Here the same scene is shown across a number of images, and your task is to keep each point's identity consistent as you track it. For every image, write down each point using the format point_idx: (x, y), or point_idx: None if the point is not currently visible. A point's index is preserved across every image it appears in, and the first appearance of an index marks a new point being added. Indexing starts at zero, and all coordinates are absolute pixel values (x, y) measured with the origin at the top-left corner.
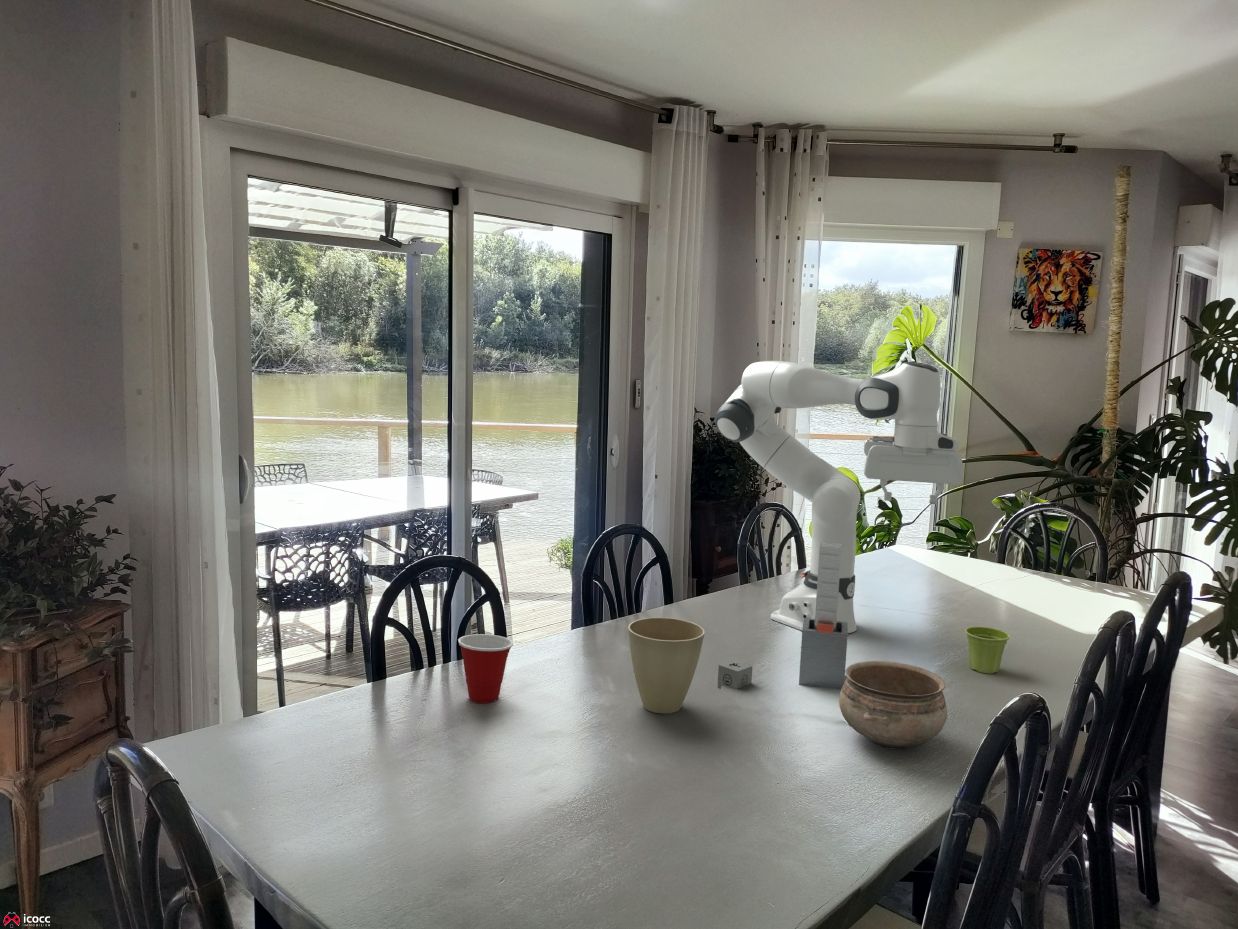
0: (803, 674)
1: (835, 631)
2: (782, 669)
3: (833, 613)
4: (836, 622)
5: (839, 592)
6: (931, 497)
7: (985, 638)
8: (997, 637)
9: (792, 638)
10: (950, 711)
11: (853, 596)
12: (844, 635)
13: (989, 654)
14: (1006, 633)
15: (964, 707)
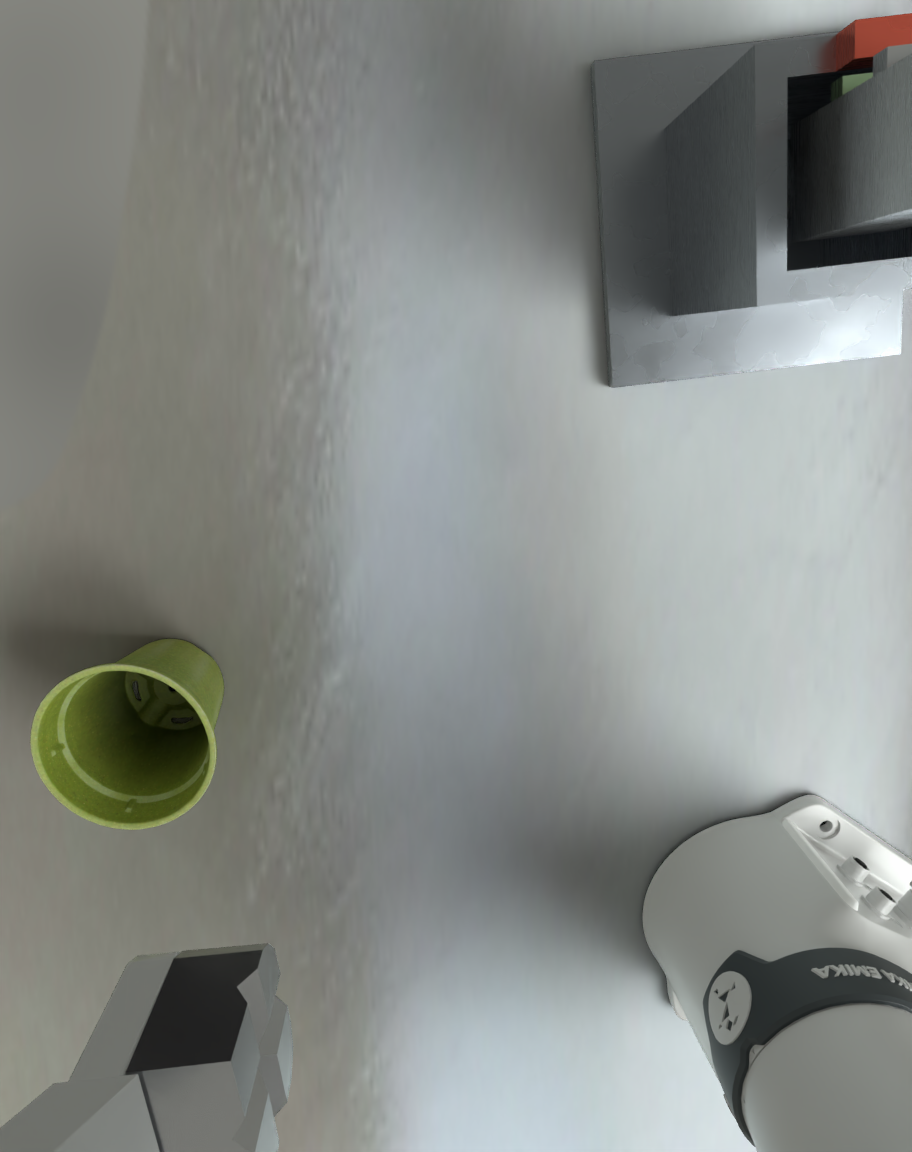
0: None
1: (817, 110)
2: (902, 334)
3: (893, 47)
4: (815, 268)
5: (776, 962)
6: (220, 1035)
7: (124, 669)
8: (96, 789)
9: (873, 716)
10: (257, 145)
11: (703, 1001)
12: (769, 44)
13: (130, 658)
14: (46, 778)
15: (211, 219)
